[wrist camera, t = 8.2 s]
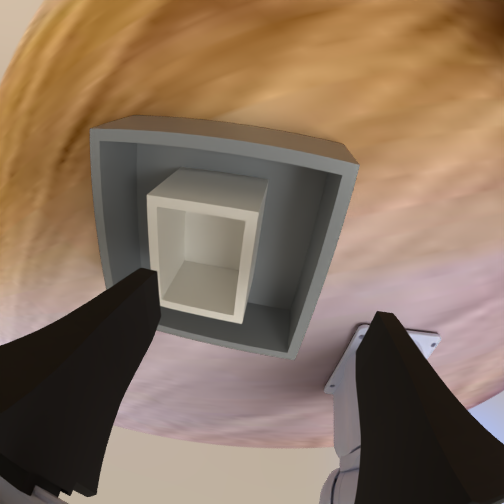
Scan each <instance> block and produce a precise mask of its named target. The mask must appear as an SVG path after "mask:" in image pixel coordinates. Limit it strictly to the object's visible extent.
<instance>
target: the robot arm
mask: <svg viewBox="0 0 504 504" xmlns="http://www.w3.org/2000/svg"><path fill="white" fill-rule="evenodd" d="M160 319H161V308H160V298H159V287H158V274H157V271H155V270H150V269H146V268H139V269H137V270H136V271H134V272H133V273H131V274H130V275H128V276H126V277H125V278H123V279H122V280H121V281H119V282H118V283H116V284H115V285H113V286H112V287H110V288H109V289H107V290H106V291H104V292H103V293H101V294H100V295H98V296H97V297H95V298H94V299H92V300H91V301H89V302H87V303H86V304H84V305H82V306H81V307H79V308H77V309H76V310H74V311H73V312H71V313H69V314H68V315H66V316H64V317H63V318H61V319H59V320H57V321H55V322H53V323H52V324H50V325H48V326H46V327H44V328H42V329H40V330H38V331H35V332H33V333H31V334H28V335H26V336H24V337H21V338H19V339H17V340H14V341H12V342H9V343H6V344H4V345H1V346H0V504H68V503H67V502H65V501H63V500H61V499H59V498H58V496H59V494H60V491H62V492H63V493H65V494H67V495H69V496H70V495H71V494H72V491H73V490H74V491H76V492H78V493H80V494H82V495H84V496H86V497H91V496H94V495H96V494H97V488H98V482H99V476H100V471H101V467H102V462H103V458H104V454H105V450H106V446H107V443H108V440H109V436H110V433H111V430H112V427H113V423H114V420H115V418H116V415H117V412H118V409H119V406H120V404H121V401H122V399H123V397H124V394H125V392H126V390H127V388H128V386H129V384H130V382H131V380H132V378H133V376H134V375H135V373H136V371H137V369H138V367H139V365H140V363H141V361H142V359H143V357H144V355H145V354H146V352H147V350H148V348H149V346H150V344H151V342H152V340H153V337H154V335H155V332H156V329H157V327H158V324H159V321H160ZM440 341H441V336H440V334H434V333H425V332H417V331H409V330H405V328H404V327H403V325H402V324H401V323H400V321H399V320H398V319H397V317H396V316H395V315H394V314H393V313H387V312H380V311H377V312H376V314H375V316H374V318H373V320H372V322H371V324H370V325H361V326H359V327H358V329H357V331H356V333H355V335H354V336H353V338H352V340H351V342H350V344H349V346H348V348H347V349H346V351H345V353H344V355H343V357H342V358H341V360H340V362H339V364H338V365H337V367H336V369H335V371H334V372H333V374H332V376H331V377H330V379H329V381H328V382H327V384H326V386H325V387H324V393H326V394H333V407H334V448H335V451H336V454H337V455H338V457H339V458H340V468H338V469H335V470H334V471H332V472H331V474H330V475H329V476H328V478H327V480H326V482H325V483H324V485H323V488H322V491H321V495H320V502H319V504H502V503H504V444H503V443H501V442H500V441H499V440H498V439H497V438H495V437H494V436H493V435H492V434H491V433H490V432H488V431H487V430H486V429H485V428H484V427H483V426H482V425H481V424H480V423H479V422H478V421H477V420H476V419H475V418H474V417H473V416H472V415H471V414H470V413H469V412H468V411H467V410H466V408H465V407H464V406H463V405H462V404H461V403H460V402H459V400H458V399H457V398H456V397H455V396H454V395H453V393H452V392H451V391H450V390H449V389H448V387H447V386H446V385H445V383H444V382H443V381H442V380H441V378H440V377H439V376H438V374H437V373H436V372H435V370H434V369H433V368H432V366H431V365H430V363H429V362H428V361H427V358H428V357H429V356H430V355H431V353H432V352H433V351H434V349H435V348H436V346H437V345H438V344H439V342H440Z"/></svg>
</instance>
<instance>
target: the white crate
mask: <svg viewBox="0 0 504 504" xmlns="http://www.w3.org/2000/svg"><path fill="white" fill-rule="evenodd" d="M268 181H269V179H263V178H257V177H251V176H245V175H238V174H232V173H225V172H218V171H211V170H203V169H195V168H187V167H181V168H179V169H178V170H177V171H176V172H174V173H173V174H172V175H170V176H169V177H168V178H167V179H165V180H164V181H163V182H162V183H161V184H159V185H158V186H157V187H156V188H154V189H153V190H152V191H151V192H150V193H148V194H147V218H148V238H149V253H150V266H151V270H155V271H157V274H158V287H159V298H160V306H162V307H166V308H170V309H175V310H179V311H183V312H188V313H192V314H196V315H201V316H205V317H210V318H215V319H220V320H224V321H229V322H234V323H239V324H242V322H243V318H244V314H245V309H246V305H247V301H248V297H249V292H250V288H251V284H252V280H253V276H254V269H255V263H256V257H257V251H258V244H259V238H260V232H261V225H262V219H263V213H264V206H265V200H266V194H267V187H268Z"/></svg>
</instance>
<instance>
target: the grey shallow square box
mask: <svg viewBox="0 0 504 504" xmlns="http://www.w3.org/2000/svg"><path fill="white" fill-rule="evenodd" d="M90 159H91V178H92V191H93V202H94V212H95V221H96V229H97V237H98V244H99V250H100V257H101V263H102V269H103V274H104V279H105V285H106V290H107V289H109V288H110V287H112V286H113V285H115V284H116V283H118V282H119V281H121V280H122V279H123V278H125V277H126V276H128V275H130V274H131V273H133V272H134V271H136V270H137V269H139V268H146V269H150V270H151V266H150V253H149V238H148V218H147V194H148V193H150V192H151V191H152V190H153V189H154V188H156V187H157V186H158V185H159V184H161V183H162V182H163V181H164V180H165V179H167V178H168V177H169V176H170V175H172V174H173V173H174V172H176V171H177V170H178V169H179V168H181V167H187V168H195V169H203V170H211V171H218V172H225V173H232V174H238V175H245V176H251V177H257V178H263V179H269V181H268V187H267V194H266V200H265V206H264V213H263V219H262V225H261V232H260V238H259V244H258V251H257V257H256V263H255V269H254V276H253V280H252V284H251V288H250V292H249V297H248V301H247V305H246V309H245V314H244V318H243V322H242V324H239V323H234V322H229V321H224V320H220V319H215V318H210V317H205V316H201V315H196V314H192V313H188V312H183V311H179V310H175V309H170V308H166V307H162V306H160V308H161V319H160V321H159V324H158V327H157V329H156V330H157V331H161V332H165V333H168V334H172V335H176V336H180V337H184V338H188V339H192V340H196V341H200V342H204V343H209V344H213V345H217V346H222V347H226V348H231V349H236V350H241V351H246V352H251V353H256V354H261V355H267V356H272V357H278V358H284V359H290V360H295V358H296V356H297V353H298V351H299V348H300V346H301V343H302V341H303V338H304V336H305V333H306V330H307V328H308V325H309V323H310V320H311V317H312V315H313V312H314V309H315V306H316V304H317V301H318V298H319V295H320V293H321V290H322V287H323V284H324V281H325V278H326V275H327V272H328V269H329V266H330V263H331V260H332V257H333V254H334V251H335V248H336V245H337V242H338V239H339V236H340V232H341V229H342V226H343V223H344V219H345V216H346V213H347V209H348V206H349V202H350V199H351V195H352V192H353V188H354V185H355V181H356V177H357V174H358V170H359V166H360V165H359V163H358V162H357V161H356V159H355V158H354V157H353V156H352V154H351V153H350V152H349V150H348V149H347V148H346V146H345V145H344V144H341V143H337V142H332V141H328V140H324V139H319V138H315V137H310V136H305V135H300V134H295V133H290V132H285V131H280V130H274V129H268V128H262V127H256V126H249V125H242V124H235V123H228V122H219V121H211V120H201V119H191V118H179V117H164V116H144V115H133V116H129V117H126V118H122V119H119V120H115V121H112V122H109V123H106V124H102V125H99V126H96V127H93V128H90Z"/></svg>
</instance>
